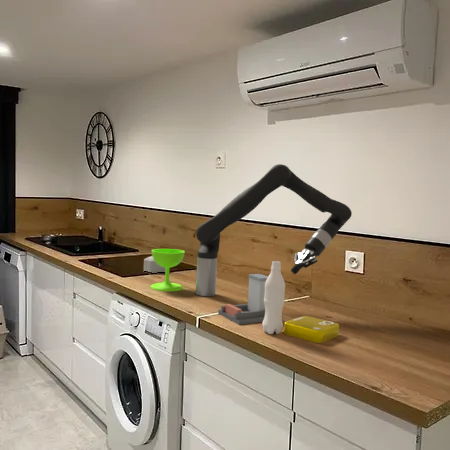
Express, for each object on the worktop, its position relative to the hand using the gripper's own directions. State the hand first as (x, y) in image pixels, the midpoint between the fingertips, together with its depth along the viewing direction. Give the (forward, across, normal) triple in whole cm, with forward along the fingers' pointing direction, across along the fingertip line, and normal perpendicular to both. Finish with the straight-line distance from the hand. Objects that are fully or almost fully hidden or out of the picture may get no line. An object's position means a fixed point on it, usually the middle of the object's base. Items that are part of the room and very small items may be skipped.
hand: (293, 272), depth 194 cm
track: (+26, 0, -3) cm, 26 cm away
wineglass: (+34, -58, -10) cm, 68 cm away
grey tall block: (+22, 0, -1) cm, 22 cm away
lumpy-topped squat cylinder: (+26, -100, -2) cm, 104 cm away
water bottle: (+28, +20, -4) cm, 35 cm away
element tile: (+20, +26, +4) cm, 33 cm away
